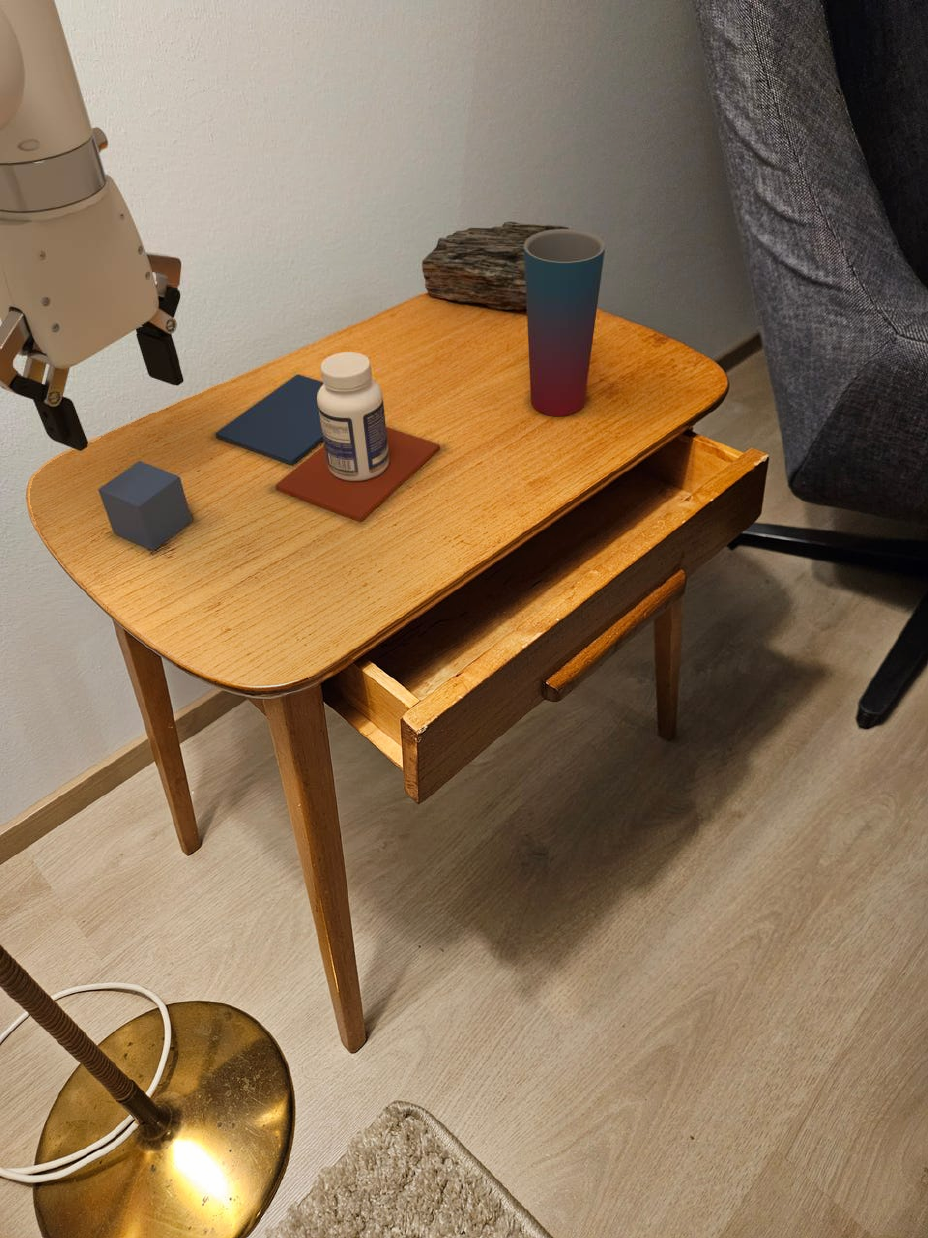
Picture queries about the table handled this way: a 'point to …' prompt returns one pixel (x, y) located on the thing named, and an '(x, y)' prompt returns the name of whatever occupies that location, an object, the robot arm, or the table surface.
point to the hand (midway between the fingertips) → (120, 410)
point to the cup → (561, 315)
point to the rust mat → (358, 496)
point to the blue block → (146, 505)
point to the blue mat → (280, 422)
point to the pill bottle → (352, 418)
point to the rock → (482, 265)
